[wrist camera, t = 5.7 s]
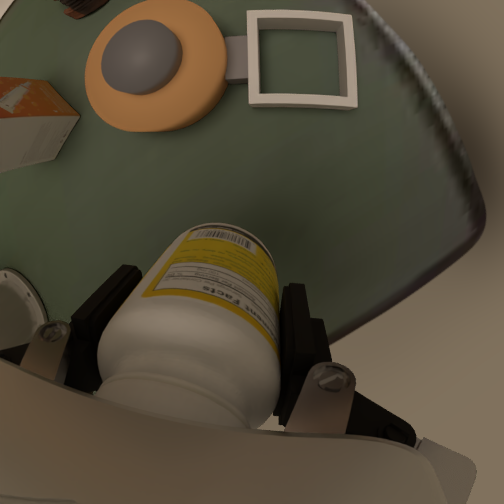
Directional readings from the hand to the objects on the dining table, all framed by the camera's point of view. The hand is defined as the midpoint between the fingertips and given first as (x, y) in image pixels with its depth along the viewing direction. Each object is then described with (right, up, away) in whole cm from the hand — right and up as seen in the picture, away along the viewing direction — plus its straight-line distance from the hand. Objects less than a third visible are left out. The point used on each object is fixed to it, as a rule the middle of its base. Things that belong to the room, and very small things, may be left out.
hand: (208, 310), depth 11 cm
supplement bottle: (0, +1, +3) cm, 3 cm away
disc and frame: (0, +19, +11) cm, 22 cm away
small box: (-21, +17, +14) cm, 31 cm away
